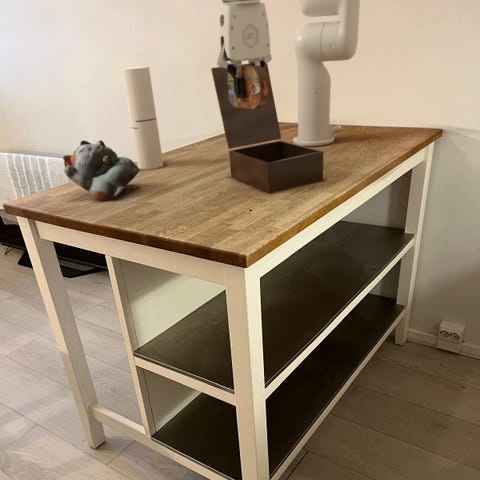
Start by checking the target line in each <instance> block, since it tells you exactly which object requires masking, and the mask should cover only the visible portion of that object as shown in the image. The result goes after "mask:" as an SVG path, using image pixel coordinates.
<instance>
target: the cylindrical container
mask: <svg viewBox="0 0 480 480" xmlns="http://www.w3.org/2000/svg"><path fill="white" fill-rule="evenodd" d="M120 70H121V76H122V77H121V78H122V82H123V87H124V88H123V89H124V93H125V100H126V105H127V111H128V116H129V123H130V126H131V128H130V129H131V133H132V140H133V144H134V145H133V146H134V152H135V158H136V162H137V167H138V169H140V170H154V169H158V168H162V167H163V166H164V159H163V152H162V145H161V140H160V133H159V132H160V131H159V125H158V119H157V112H156V105H155V98H154V92H153V86H152V85H153V84H152V77H151V72H150V66H147V65H145V66H143V65H142V66H131V67H123V68H121V69H120Z"/></svg>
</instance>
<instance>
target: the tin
mask: <svg viewBox="0 0 480 480" xmlns="http://www.w3.org/2000/svg"><path fill="white" fill-rule="evenodd" d="M242 78H244V81H245V98H236V96H235V93H234V81H233V77H231V75H230V74H229V73H228V71H227V73H226V78H225V88H226V93H227V96H228V99H229V101H230V103H231V104H232V106H234V107H236V108H245V109H255V108H261V107H263V106H264V105H265V104H266V103H267V101H268V98H269V83H268V76H267V73H266V72H265V70H264V69H263V68H262V67H261V66H258V65H254V66H242Z"/></svg>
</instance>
